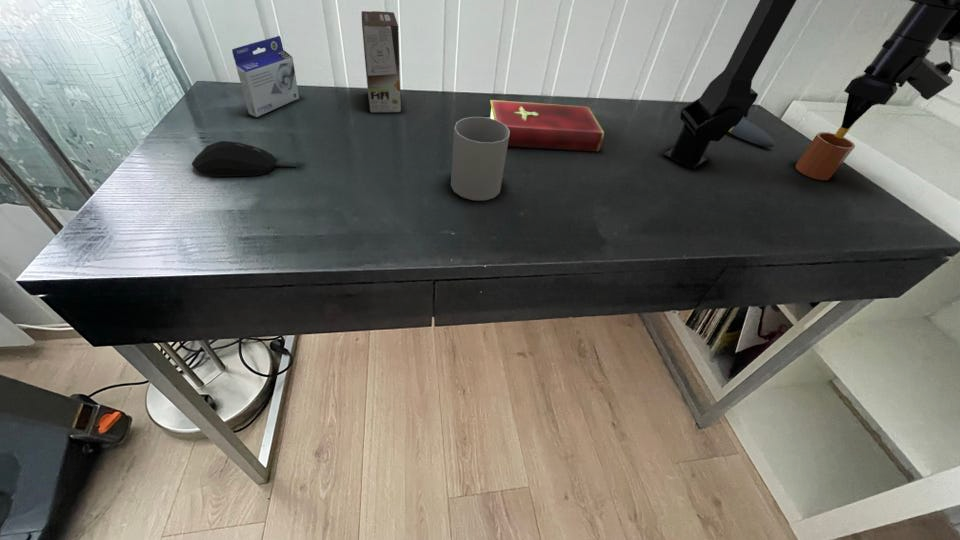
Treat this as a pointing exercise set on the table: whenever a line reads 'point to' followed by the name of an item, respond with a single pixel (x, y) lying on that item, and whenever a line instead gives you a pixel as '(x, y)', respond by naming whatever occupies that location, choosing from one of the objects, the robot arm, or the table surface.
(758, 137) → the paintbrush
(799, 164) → the pen cup
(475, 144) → the cup
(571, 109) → the hardcover book
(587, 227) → the table surface
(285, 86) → the ink box
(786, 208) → the table surface
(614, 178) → the table surface
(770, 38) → the robot arm
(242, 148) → the gaming mouse
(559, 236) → the table surface
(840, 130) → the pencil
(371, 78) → the coffee box
